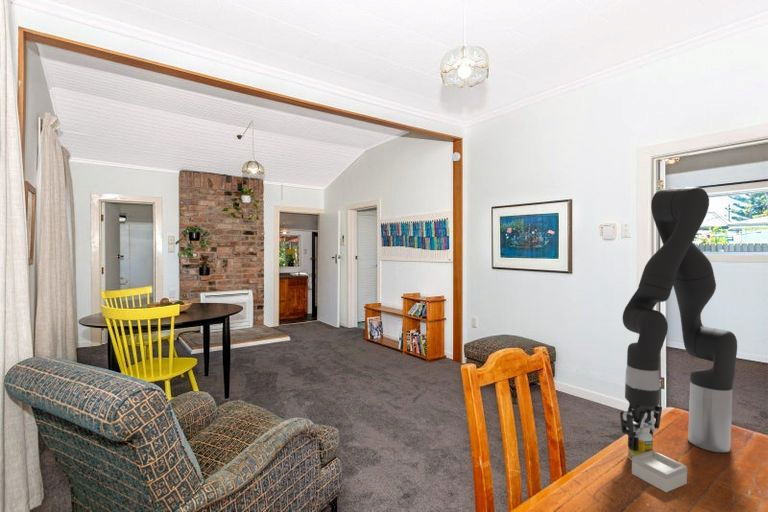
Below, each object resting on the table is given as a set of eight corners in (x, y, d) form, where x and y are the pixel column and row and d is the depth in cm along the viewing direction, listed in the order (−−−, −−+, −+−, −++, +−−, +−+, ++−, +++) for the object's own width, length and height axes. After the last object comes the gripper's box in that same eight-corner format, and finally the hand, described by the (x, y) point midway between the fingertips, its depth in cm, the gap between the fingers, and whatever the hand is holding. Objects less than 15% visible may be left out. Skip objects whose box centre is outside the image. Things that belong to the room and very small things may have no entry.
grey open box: (651, 465, 100) (652, 449, 100) (686, 483, 93) (687, 466, 93) (631, 473, 97) (632, 456, 97) (666, 492, 90) (666, 474, 89)
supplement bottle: (633, 452, 107) (634, 417, 106) (656, 461, 102) (657, 425, 102) (624, 458, 104) (625, 422, 103) (646, 468, 99) (647, 431, 99)
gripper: (644, 375, 108) (642, 435, 109) (610, 383, 102) (608, 446, 103) (674, 384, 102) (672, 448, 102) (639, 393, 96) (637, 460, 96)
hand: (640, 447), depth 103 cm, fingers closed on supplement bottle, 5 cm apart
